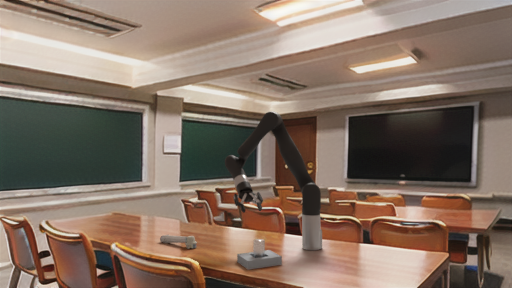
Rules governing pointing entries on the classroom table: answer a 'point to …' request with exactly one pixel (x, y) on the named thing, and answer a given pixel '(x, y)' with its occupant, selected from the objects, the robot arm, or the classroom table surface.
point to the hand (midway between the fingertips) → (252, 210)
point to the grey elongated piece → (180, 240)
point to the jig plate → (259, 260)
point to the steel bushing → (258, 248)
